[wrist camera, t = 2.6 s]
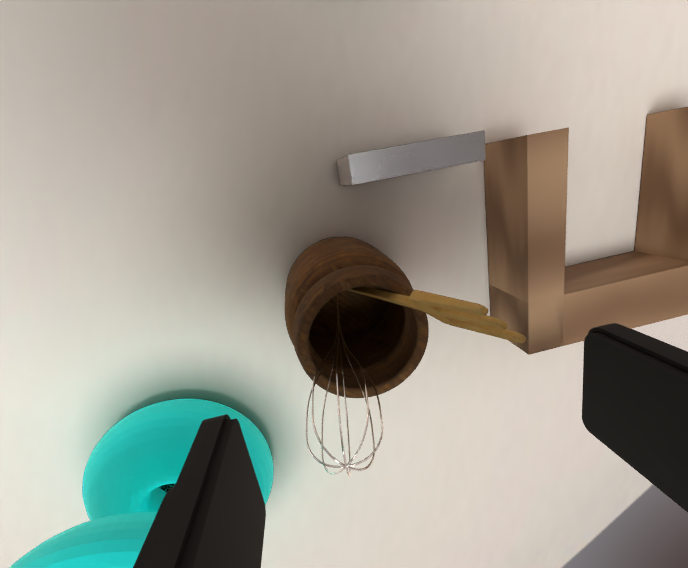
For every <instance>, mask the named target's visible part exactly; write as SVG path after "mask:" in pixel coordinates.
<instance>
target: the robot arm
mask: <svg viewBox="0 0 688 568" xmlns="http://www.w3.org/2000/svg"><path fill="white" fill-rule="evenodd" d="M582 420H583V423H584V425H585V427H586V428H587V430H588V431H589V432H590V433H591V434H593V435H594V436H595V437H596V438H597V439H599V440H600V441H601V442H602V443H604V444H605V445H606V446H607V447H608V448H610V449H611V450H612V451H613V452H615V453H616V454H617V455H618V456H619V457H621V458H622V459H623V460H624V461H626V462H627V463H628V464H629V465H630V466H632V467H633V468H634V469H635V470H637V471H638V472H639V473H640V474H641V475H643V476H644V477H645V478H646V479H648V480H649V481H650V482H651V483H652V484H654V485H655V486H657V488H659V489H660V490H661V491H662V492H663V493H665V494H666V495H667V496H668V497H670V498H671V499H672V500H673V501H674V502H676V503H677V504H678V505H679V506H681V507H682V508H683V509H684V510H686V511H687V512H688V352H687V351H684V350H682V349H680V348H677V347H675V346H672V345H670V344H667V343H665V342H662V341H660V340H657V339H655V338H652V337H650V336H647V335H645V334H643V333H640V332H638V331H635V330H633V329H630V328H628V327H625V326H623V325H620V324H617V323H611V324H607V325H603V326H598V327H594V328H592V329H590V330H589V332H588V335H587V336H586V337H585V340H584V368H583V402H582ZM265 517H266V511H265V503H264V499H263V496H262V492H261V489H260V486H259V483H258V480H257V477H256V474H255V471H254V467H253V464H252V461H251V458H250V455H249V452H248V449H247V446H246V442H245V439H244V436H243V433H242V430H241V427H240V424H239V421H238V420H237V419H236V418H235V419H231V418H230V417H229V415H227V414H226V415H221V416H217V417H213V418H209V419H205V420H203V421H202V423H201V425H200V427H199V429H198V432H197V434H196V437H195V439H194V441H193V444H192V446H191V448H190V451H189V453H188V456H187V458H186V460H185V463H184V465H183V468H182V470H181V472H180V475H179V477H178V479H177V482H176V484H175V487H172V488H171V489H169V490H168V491H167V493H166V495H165V496H164V498H163V501H162V503H161V505H160V507H159V510H158V512H157V514H156V516H155V519H154V521H153V523H152V526H151V528H150V530H149V532H148V535H147V537H146V539H145V541H144V544H143V546H142V548H141V551H140V553H139V555H138V557H137V560H136V562H135V564H134V566H133V568H261V558H262V548H263V538H264V528H265Z"/></svg>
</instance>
